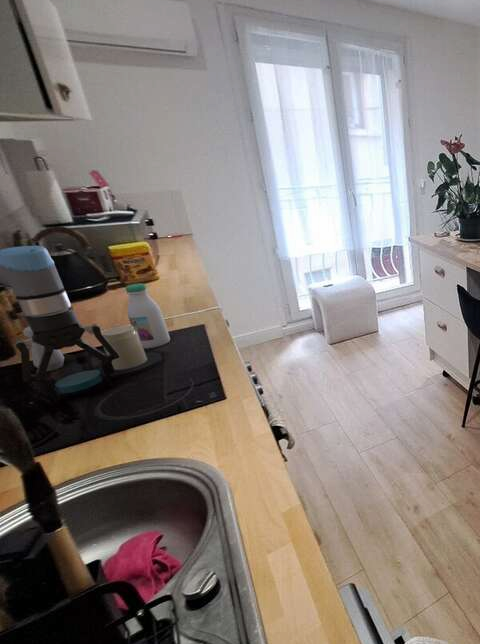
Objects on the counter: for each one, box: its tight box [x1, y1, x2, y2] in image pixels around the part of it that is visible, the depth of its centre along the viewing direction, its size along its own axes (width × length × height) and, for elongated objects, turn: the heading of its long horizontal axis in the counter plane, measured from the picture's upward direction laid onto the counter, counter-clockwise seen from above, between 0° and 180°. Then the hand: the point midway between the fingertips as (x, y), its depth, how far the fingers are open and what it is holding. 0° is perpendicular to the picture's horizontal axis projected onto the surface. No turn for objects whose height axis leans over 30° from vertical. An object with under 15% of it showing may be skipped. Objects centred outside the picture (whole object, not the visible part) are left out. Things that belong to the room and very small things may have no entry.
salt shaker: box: [22, 326, 65, 372], centre depth 115 cm, size 6×6×13 cm
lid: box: [54, 369, 104, 394], centre depth 103 cm, size 8×8×2 cm
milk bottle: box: [124, 283, 171, 349], centre depth 129 cm, size 8×8×20 cm
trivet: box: [95, 351, 163, 380], centre depth 118 cm, size 14×14×1 cm
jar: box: [101, 325, 147, 370], centre depth 116 cm, size 8×8×10 cm
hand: (85, 392), depth 105 cm, fingers open, 9 cm apart
